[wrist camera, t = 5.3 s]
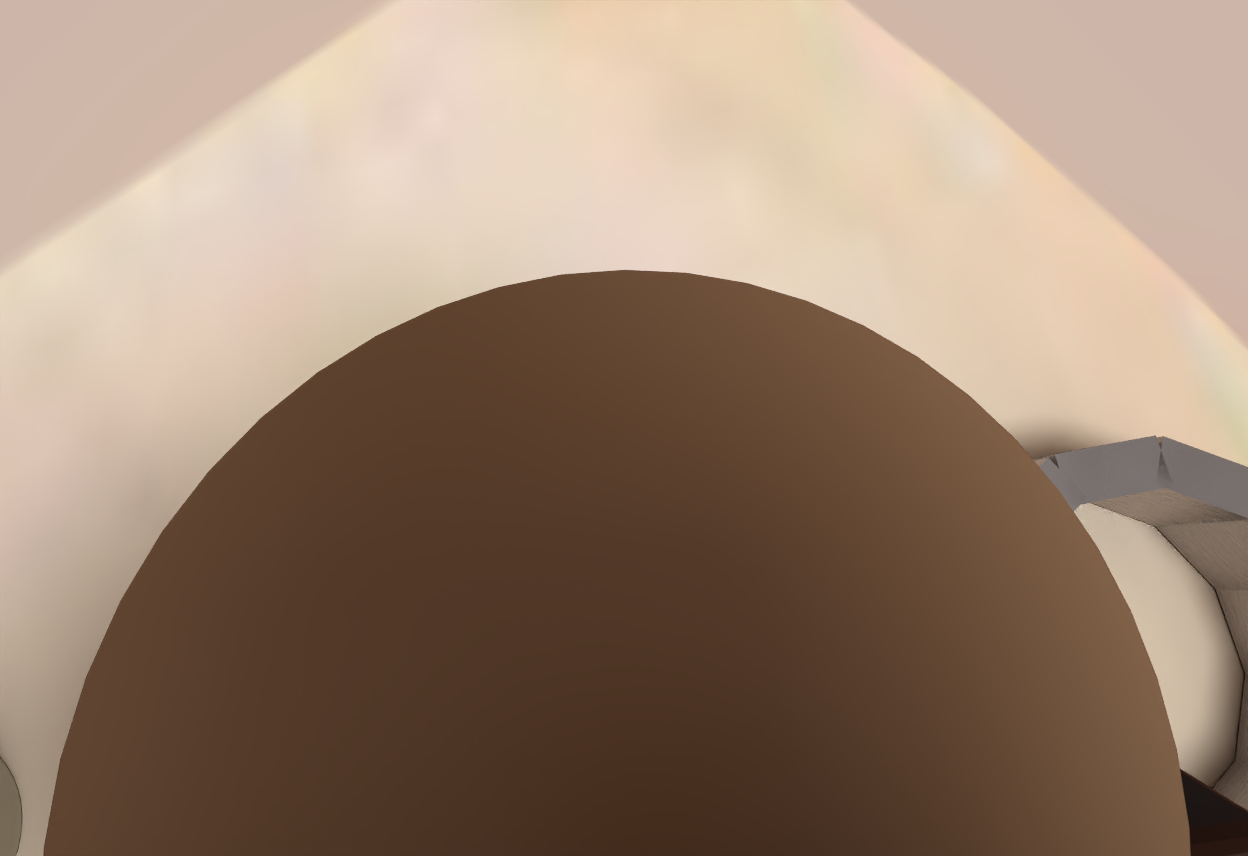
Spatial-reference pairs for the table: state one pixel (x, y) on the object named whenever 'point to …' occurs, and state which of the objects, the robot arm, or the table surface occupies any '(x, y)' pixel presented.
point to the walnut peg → (623, 609)
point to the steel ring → (1177, 528)
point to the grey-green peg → (9, 813)
